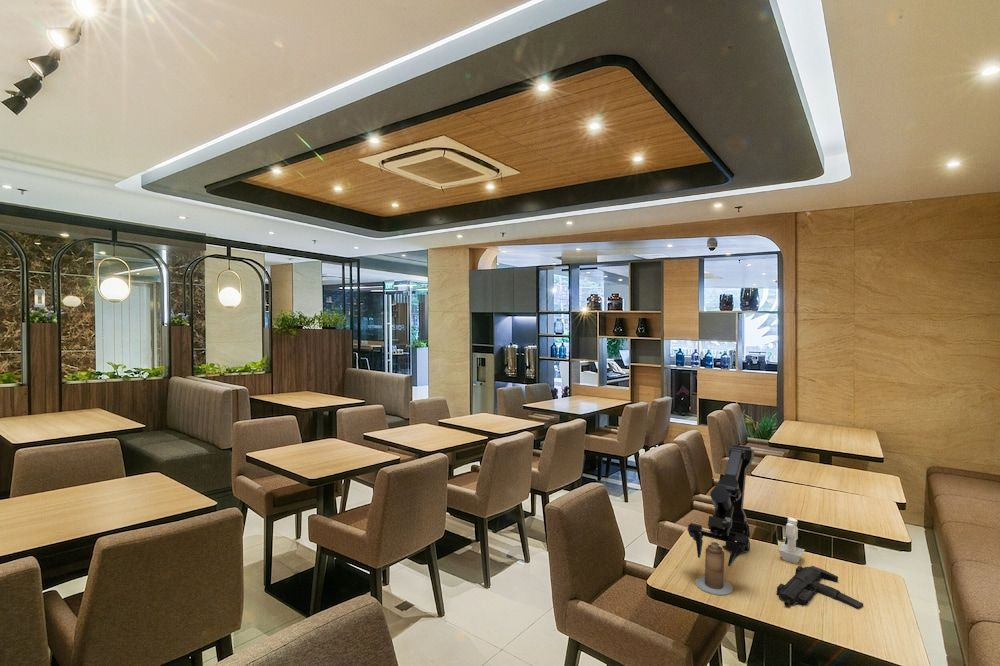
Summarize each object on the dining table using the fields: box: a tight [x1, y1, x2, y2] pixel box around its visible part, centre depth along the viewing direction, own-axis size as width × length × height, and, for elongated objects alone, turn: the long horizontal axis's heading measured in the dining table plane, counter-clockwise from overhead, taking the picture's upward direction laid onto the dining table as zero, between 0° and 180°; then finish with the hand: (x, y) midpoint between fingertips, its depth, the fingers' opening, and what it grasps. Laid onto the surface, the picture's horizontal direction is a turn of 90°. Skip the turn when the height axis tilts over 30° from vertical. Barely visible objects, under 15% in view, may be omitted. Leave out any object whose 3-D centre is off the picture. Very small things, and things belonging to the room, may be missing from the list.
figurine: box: [777, 517, 806, 565], centre depth 183 cm, size 7×9×15 cm
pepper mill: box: [704, 541, 725, 589], centre depth 164 cm, size 6×6×13 cm
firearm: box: [776, 565, 864, 610], centre depth 158 cm, size 3×30×20 cm
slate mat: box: [695, 575, 733, 596], centre depth 164 cm, size 11×11×1 cm
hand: (713, 561), depth 162 cm, fingers open, 9 cm apart
